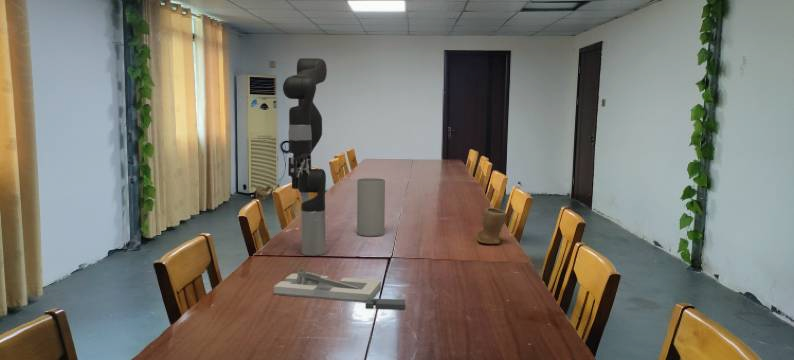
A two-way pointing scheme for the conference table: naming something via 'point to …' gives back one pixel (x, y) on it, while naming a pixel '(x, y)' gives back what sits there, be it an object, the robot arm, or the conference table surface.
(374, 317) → the conference table surface
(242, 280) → the conference table surface
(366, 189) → the cylinder vase
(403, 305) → the bracket
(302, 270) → the caliper
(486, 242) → the brown boot-shaped vase
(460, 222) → the conference table surface
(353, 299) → the case insert
